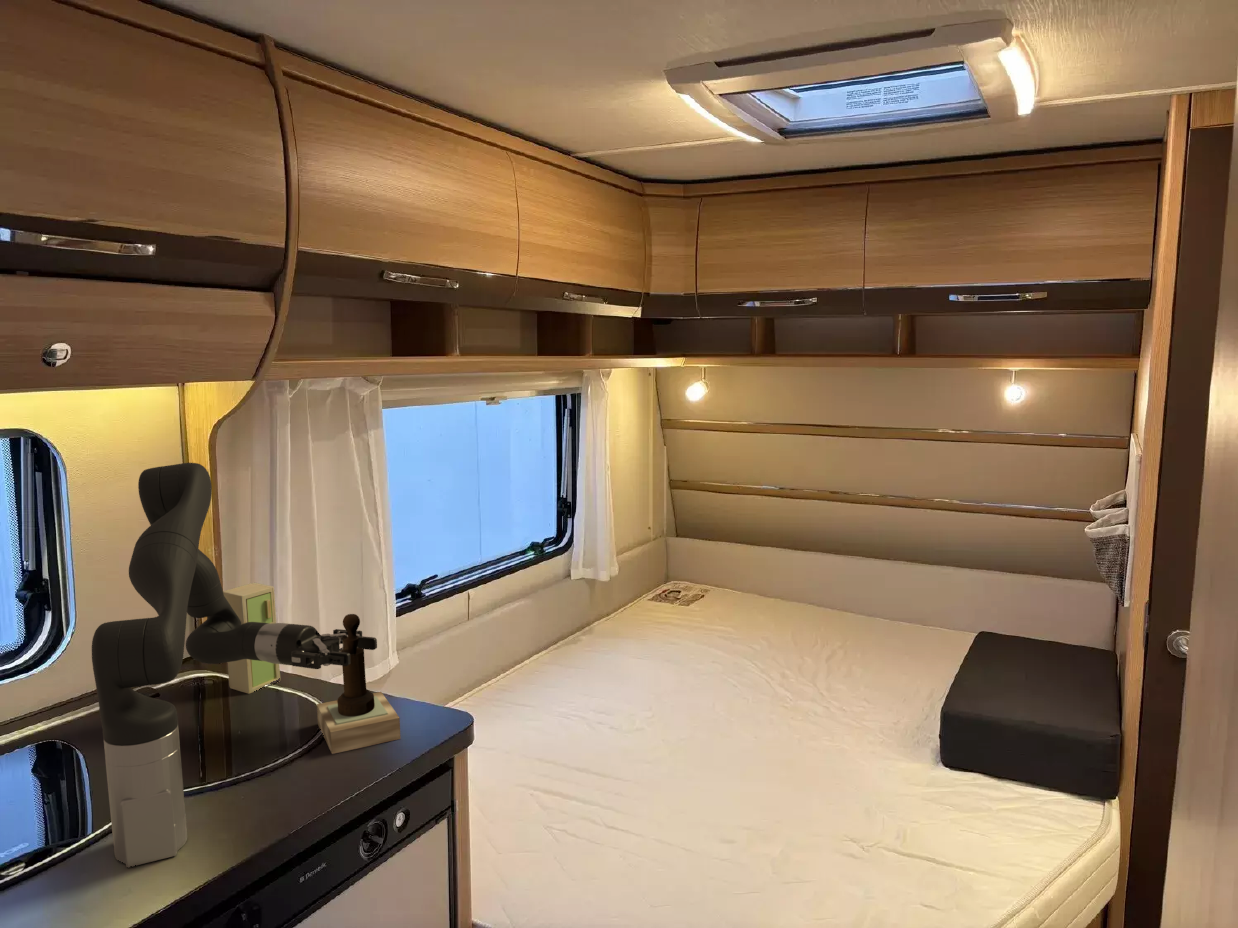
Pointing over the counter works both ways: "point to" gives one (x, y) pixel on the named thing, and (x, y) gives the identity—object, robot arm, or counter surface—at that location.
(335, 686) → the counter surface
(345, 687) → the dark brown pepper mill
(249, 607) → the toy refrigerator
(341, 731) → the birch pedestal
